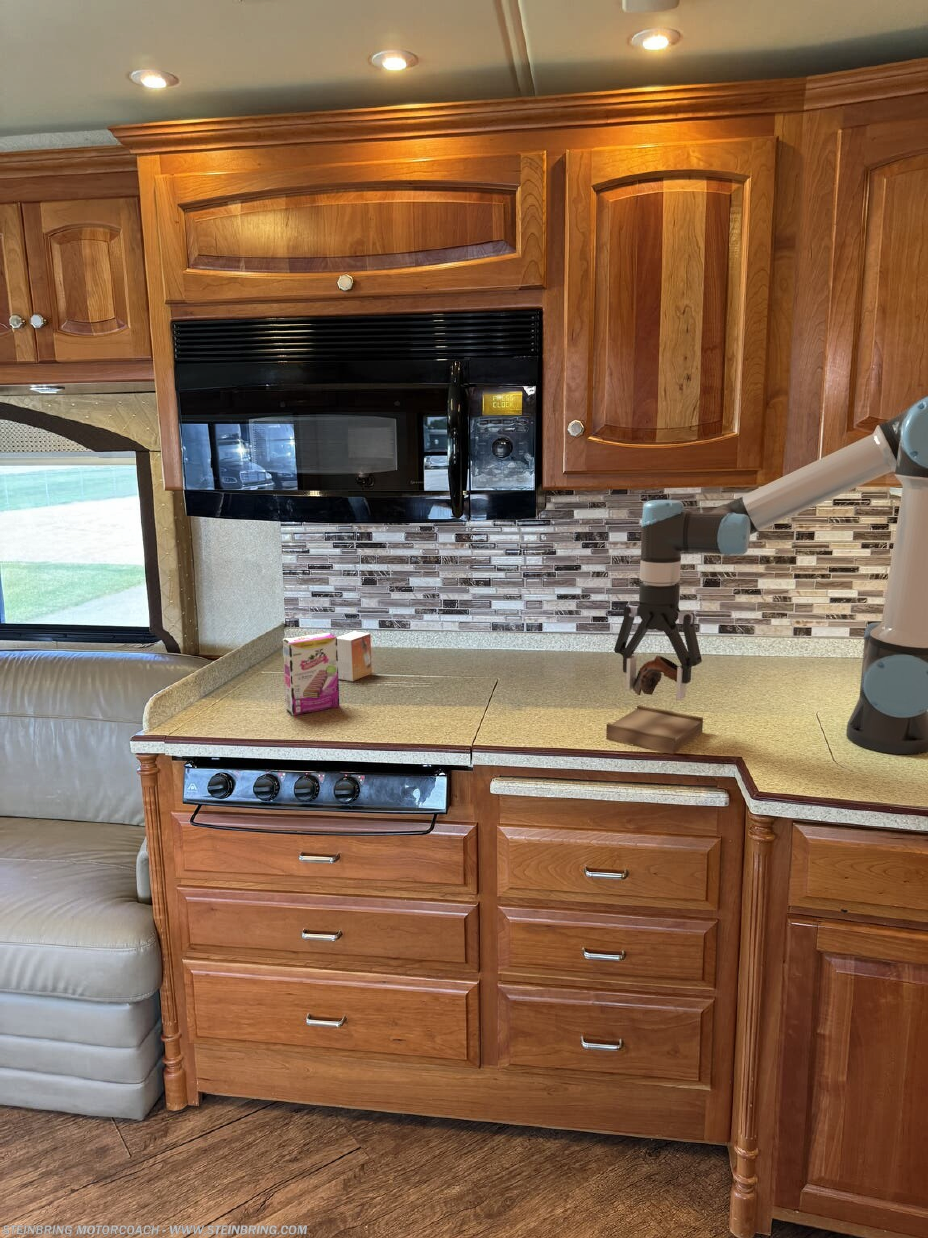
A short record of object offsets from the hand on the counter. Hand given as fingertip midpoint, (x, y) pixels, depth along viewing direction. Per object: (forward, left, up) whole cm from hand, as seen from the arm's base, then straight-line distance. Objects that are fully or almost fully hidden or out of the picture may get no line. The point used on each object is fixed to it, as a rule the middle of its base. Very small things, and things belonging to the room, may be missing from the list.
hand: (655, 693), depth 171 cm
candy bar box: (+69, +27, -9) cm, 75 cm away
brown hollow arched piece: (0, 0, 0) cm, 1 cm away
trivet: (0, 0, -9) cm, 9 cm away
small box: (+79, +4, -9) cm, 79 cm away
